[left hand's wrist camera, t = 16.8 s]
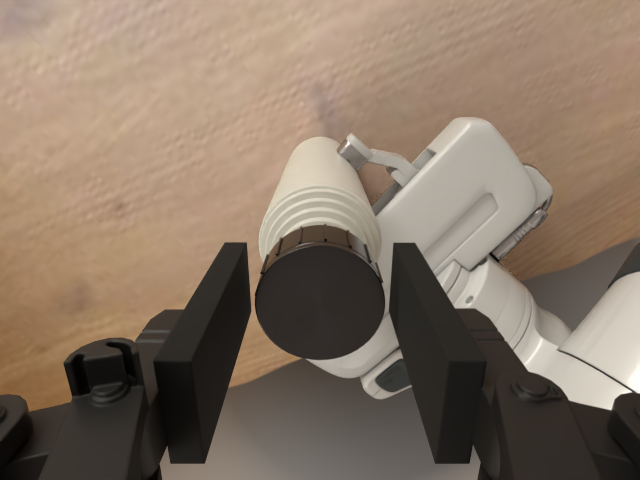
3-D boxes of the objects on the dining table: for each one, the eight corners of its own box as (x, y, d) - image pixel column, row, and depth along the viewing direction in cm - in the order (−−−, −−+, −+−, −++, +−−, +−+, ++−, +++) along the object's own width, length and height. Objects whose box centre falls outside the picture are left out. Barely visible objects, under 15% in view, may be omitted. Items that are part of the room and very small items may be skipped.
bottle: (317, 213, 35) (314, 391, 15) (274, 167, 34) (203, 292, 13) (365, 171, 34) (435, 303, 13) (322, 122, 32) (326, 184, 12)
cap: (393, 240, 14) (404, 264, 12) (357, 338, 16) (362, 373, 14) (277, 209, 14) (271, 228, 12) (251, 312, 15) (241, 344, 13)
